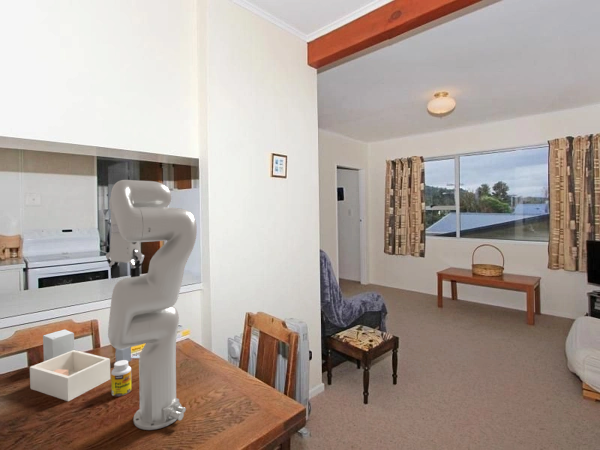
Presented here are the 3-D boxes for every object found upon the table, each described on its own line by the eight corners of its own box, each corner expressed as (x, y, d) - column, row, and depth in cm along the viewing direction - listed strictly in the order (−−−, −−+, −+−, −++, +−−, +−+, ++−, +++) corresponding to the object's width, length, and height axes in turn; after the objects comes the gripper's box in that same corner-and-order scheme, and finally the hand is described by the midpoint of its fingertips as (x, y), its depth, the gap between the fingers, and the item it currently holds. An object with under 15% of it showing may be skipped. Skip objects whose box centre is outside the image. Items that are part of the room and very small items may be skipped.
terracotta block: (68, 381, 111) (68, 369, 111) (59, 387, 107) (59, 375, 107) (56, 381, 111) (56, 369, 111) (47, 387, 107) (47, 375, 107)
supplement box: (75, 366, 124) (74, 332, 123) (52, 374, 117) (51, 339, 117) (66, 361, 127) (65, 328, 127) (43, 369, 121) (42, 334, 121)
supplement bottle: (112, 401, 101) (111, 368, 101) (110, 392, 106) (110, 361, 106) (132, 395, 104) (132, 363, 104) (130, 387, 109) (129, 357, 109)
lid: (158, 361, 129) (158, 344, 129) (125, 380, 115) (124, 360, 115) (122, 353, 136) (122, 336, 136) (86, 369, 122) (86, 351, 122)
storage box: (110, 381, 113) (110, 358, 112) (68, 404, 100) (67, 378, 99) (74, 371, 119) (73, 349, 119) (30, 391, 106) (29, 367, 106)
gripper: (150, 229, 118) (152, 277, 118) (115, 229, 124) (117, 275, 124) (133, 230, 111) (134, 281, 111) (96, 230, 117) (98, 279, 117)
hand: (125, 278), depth 118 cm, fingers open, 9 cm apart
